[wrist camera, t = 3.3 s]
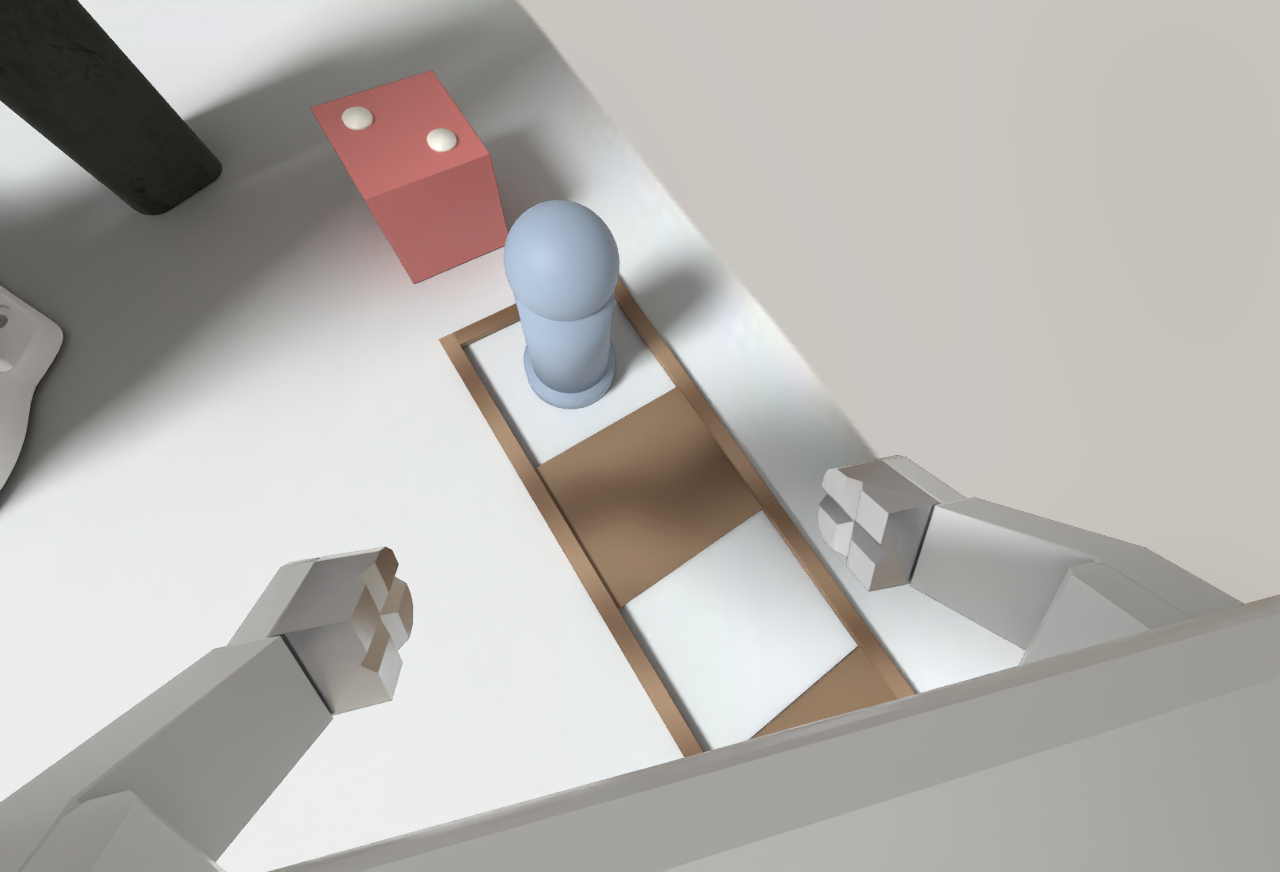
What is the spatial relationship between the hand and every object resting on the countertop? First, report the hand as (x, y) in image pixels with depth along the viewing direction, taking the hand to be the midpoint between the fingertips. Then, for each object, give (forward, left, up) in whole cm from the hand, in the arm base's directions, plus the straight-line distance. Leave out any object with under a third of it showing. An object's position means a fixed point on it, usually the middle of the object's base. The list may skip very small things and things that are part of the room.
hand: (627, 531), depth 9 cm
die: (-20, +7, -14) cm, 26 cm away
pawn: (-8, +6, -14) cm, 18 cm away
